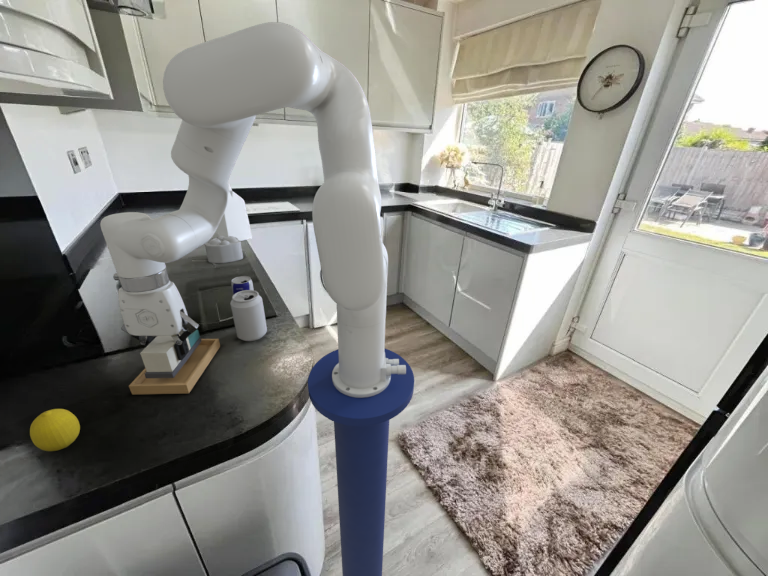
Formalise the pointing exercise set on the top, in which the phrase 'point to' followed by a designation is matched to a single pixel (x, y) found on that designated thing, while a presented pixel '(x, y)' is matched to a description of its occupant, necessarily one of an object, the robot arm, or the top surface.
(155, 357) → the sneaker
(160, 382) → the wooden tray
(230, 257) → the lumpy-topped squat cylinder
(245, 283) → the energy drink
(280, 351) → the top surface
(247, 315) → the can
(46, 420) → the lemon
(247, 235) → the milk
